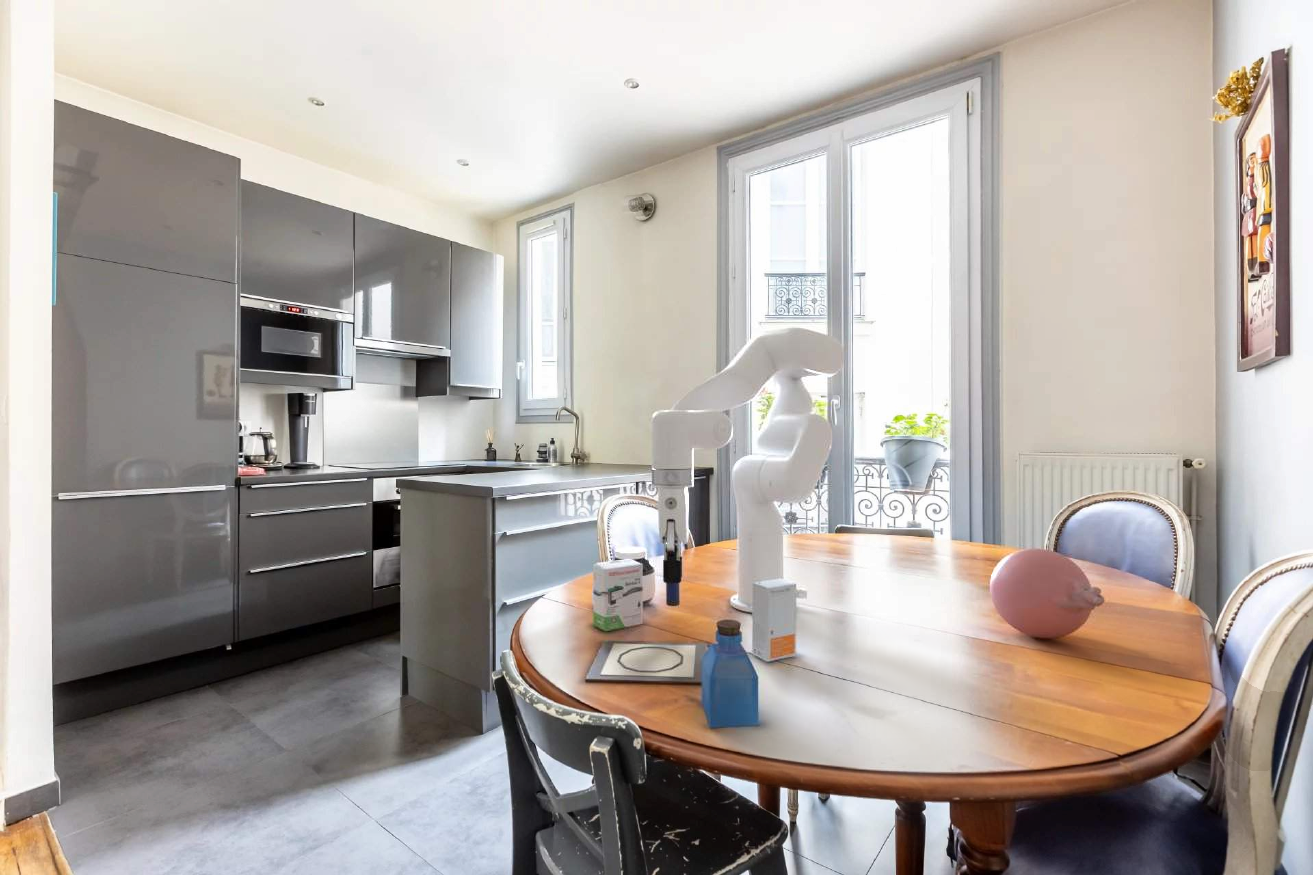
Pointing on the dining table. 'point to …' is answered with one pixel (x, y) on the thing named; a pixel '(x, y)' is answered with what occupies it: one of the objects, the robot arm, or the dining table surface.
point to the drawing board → (648, 662)
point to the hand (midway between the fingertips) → (672, 579)
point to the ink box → (617, 594)
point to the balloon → (1042, 593)
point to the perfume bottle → (729, 680)
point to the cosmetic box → (774, 619)
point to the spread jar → (647, 569)
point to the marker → (672, 594)
